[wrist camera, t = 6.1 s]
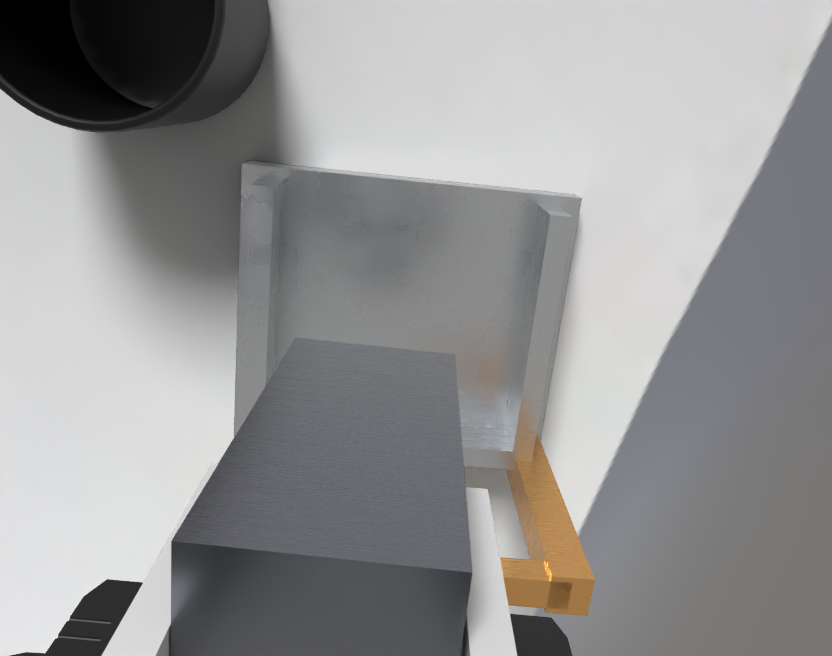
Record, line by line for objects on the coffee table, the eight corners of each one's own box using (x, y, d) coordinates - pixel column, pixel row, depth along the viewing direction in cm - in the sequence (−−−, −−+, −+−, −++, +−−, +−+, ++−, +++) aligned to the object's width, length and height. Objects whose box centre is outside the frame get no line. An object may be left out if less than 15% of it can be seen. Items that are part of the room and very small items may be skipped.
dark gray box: (281, 523, 22) (163, 841, 13) (292, 336, 20) (164, 540, 11) (435, 540, 22) (434, 869, 13) (458, 354, 20) (479, 573, 11)
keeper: (240, 423, 39) (161, 583, 27) (248, 160, 35) (159, 199, 22) (531, 448, 40) (592, 616, 27) (574, 194, 36) (670, 250, 23)
